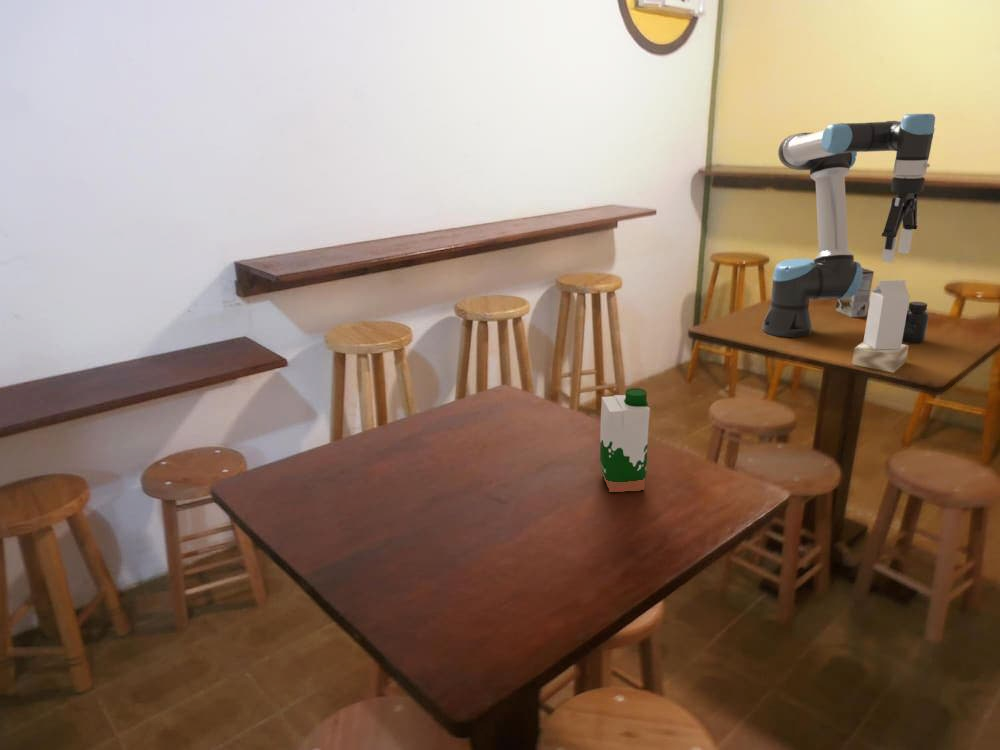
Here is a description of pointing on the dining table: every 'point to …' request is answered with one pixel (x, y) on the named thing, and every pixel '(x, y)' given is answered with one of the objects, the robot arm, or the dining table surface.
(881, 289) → the milk carton
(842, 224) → the robot arm
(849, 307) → the coffee box
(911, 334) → the supplement bottle
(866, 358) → the pedestal
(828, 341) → the dining table surface
